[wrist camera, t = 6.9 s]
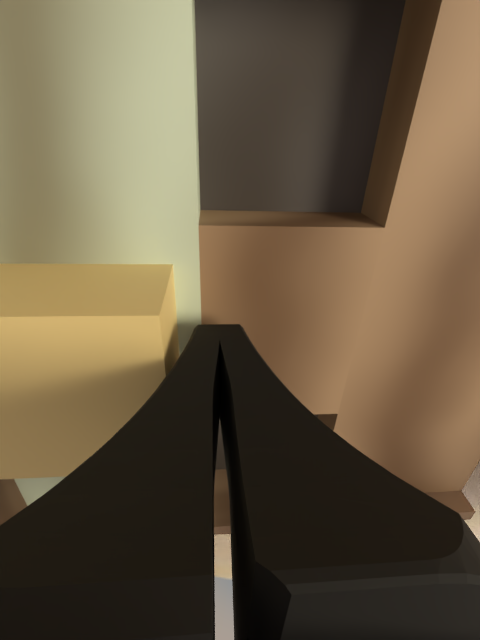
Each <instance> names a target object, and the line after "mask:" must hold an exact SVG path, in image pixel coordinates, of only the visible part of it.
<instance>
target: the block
mask: <svg viewBox="0 0 480 640" xmlns="http://www.w3.org/2000/svg"><path fill="white" fill-rule="evenodd" d="M179 357H180V354H179V340H178V327H177V313H176V299H175V286H174V272H173V264H0V479H22V478H45V477H66V476H68V475H69V474H70V473H71V472H72V471H74V470H75V469H76V468H77V467H78V466H80V465H81V464H82V463H83V462H84V461H86V460H87V459H88V458H89V457H90V456H92V455H93V454H94V453H95V452H96V451H97V450H99V449H100V448H101V447H102V446H103V445H104V444H105V443H106V442H107V441H108V440H110V439H111V438H112V437H113V436H114V435H115V434H116V433H117V432H118V431H119V430H120V429H121V428H122V427H123V426H124V425H125V424H126V423H127V422H128V421H129V420H130V419H131V418H132V417H133V416H134V415H135V413H136V412H137V411H138V410H139V409H140V408H141V407H142V406H143V405H144V404H145V402H146V401H147V400H148V399H149V398H150V396H151V395H152V394H153V393H154V392H155V390H156V389H157V388H158V386H159V385H160V384H161V382H162V381H163V380H164V378H165V377H166V376H167V374H168V373H169V372H170V370H171V369H172V367H173V366H174V364H175V363H176V361H177V360H178V358H179Z"/></svg>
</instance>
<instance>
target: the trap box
mask: <svg viewBox="0 0 480 640" xmlns="http://www.w3.org/2000/svg"><path fill="white" fill-rule="evenodd" d="M0 264H173V272H174V286H175V299H176V313H177V327H178V340H179V354H180V355H181V353H182V352H183V350H184V348H185V347H186V345H187V343H188V341H189V339H190V337H191V335H192V333H193V330H194V328H195V327H196V326H197V325H203V324H240V325H241V326H242V327H243V328H244V330H245V332H246V334H247V336H248V337H249V339H250V341H251V342H252V344H253V345H254V347H255V348H256V350H257V351H258V353H259V354H260V355H261V357H262V358H263V359H264V361H265V362H266V363H267V365H268V366H269V367H270V369H271V370H272V371H273V372H274V373H275V375H276V376H277V377H278V378H279V379H280V381H281V382H282V383H283V384H284V385H285V386H286V387H287V388H288V390H289V391H290V392H291V393H292V394H293V395H294V396H295V397H296V398H297V399H298V400H299V401H300V402H301V403H302V404H303V405H304V406H305V407H306V408H307V409H308V410H309V411H311V412H312V413H313V414H314V415H315V416H316V417H317V418H318V419H319V420H321V421H322V422H323V423H324V424H325V425H326V426H328V427H329V428H330V429H331V430H333V431H334V432H335V433H337V434H338V435H339V436H340V437H342V438H343V439H344V440H346V441H347V442H348V443H349V444H351V445H352V446H353V447H355V448H356V449H357V450H359V451H360V452H362V453H363V454H364V455H366V456H367V457H369V458H370V459H372V460H373V461H375V462H376V463H378V464H379V465H380V466H382V467H383V468H385V469H386V470H388V471H389V472H391V473H392V474H394V475H395V476H397V477H399V478H400V479H402V480H403V481H405V482H407V483H409V484H410V485H412V486H414V487H415V488H417V489H419V490H420V491H422V492H424V493H425V494H427V495H429V496H430V497H432V498H434V499H435V500H437V501H439V502H441V503H442V504H444V505H446V506H447V507H449V508H451V509H452V510H454V511H456V512H457V513H459V514H460V516H461V517H462V518H463V520H466V519H471V517H472V516H473V514H474V513H475V511H474V509H473V508H472V506H471V505H470V503H469V502H468V500H467V499H466V497H465V496H464V494H463V493H462V491H461V490H462V489H463V487H464V485H465V484H466V482H467V480H468V479H469V477H470V475H471V474H472V472H473V471H474V469H475V467H476V466H477V464H478V462H479V461H480V0H0ZM64 478H65V477H45V478H22V479H0V525H2V524H3V523H4V522H6V521H7V520H9V519H10V518H11V517H13V516H14V515H16V514H17V513H18V512H20V511H21V510H23V509H24V508H26V507H27V506H28V505H30V504H31V503H33V502H34V501H35V500H37V499H38V498H40V497H41V496H42V495H44V494H45V493H46V492H48V491H49V490H50V489H51V488H53V487H54V486H55V485H57V484H58V483H59V482H60V481H62V480H63V479H64ZM214 534H231V528H230V502H229V489H228V480H227V472H226V464H225V456H224V448H223V440H222V433H221V425H220V420H219V432H218V445H217V458H216V470H215V483H214Z"/></svg>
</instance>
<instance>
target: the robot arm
mask: <svg viewBox="0 0 480 640" xmlns="http://www.w3.org/2000/svg"><path fill="white" fill-rule="evenodd" d="M219 420H220V425H221V433H222V440H223V448H224V456H225V464H226V472H227V480H228V489H229V502H230V528H231V554H232V581H233V610H234V640H480V542H479V541H478V539H477V538H476V537H475V535H474V534H473V532H472V531H471V530H470V528H469V527H468V525H467V524H466V523H465V521H464V520H463V518H462V517H461V516H460V514H459V513H457V512H456V511H454V510H452V509H451V508H449V507H447V506H446V505H444V504H442V503H441V502H439V501H437V500H435V499H434V498H432V497H430V496H429V495H427V494H425V493H424V492H422V491H420V490H419V489H417V488H415V487H414V486H412V485H410V484H409V483H407V482H405V481H403V480H402V479H400V478H399V477H397V476H395V475H394V474H392V473H391V472H389V471H388V470H386V469H385V468H383V467H382V466H380V465H379V464H378V463H376V462H375V461H373V460H372V459H370V458H369V457H367V456H366V455H364V454H363V453H362V452H360V451H359V450H357V449H356V448H355V447H353V446H352V445H351V444H349V443H348V442H347V441H346V440H344V439H343V438H342V437H340V436H339V435H338V434H337V433H335V432H334V431H333V430H331V429H330V428H329V427H328V426H326V425H325V424H324V423H323V422H322V421H321V420H319V419H318V418H317V417H316V416H315V415H314V414H313V413H312V412H311V411H309V410H308V409H307V408H306V407H305V406H304V405H303V404H302V403H301V402H300V401H299V400H298V399H297V398H296V397H295V396H294V395H293V394H292V393H291V392H290V391H289V390H288V388H287V387H286V386H285V385H284V384H283V383H282V382H281V381H280V379H279V378H278V377H277V376H276V375H275V373H274V372H273V371H272V370H271V369H270V367H269V366H268V365H267V363H266V362H265V361H264V359H263V358H262V357H261V355H260V354H259V353H258V351H257V350H256V348H255V347H254V345H253V344H252V342H251V341H250V339H249V337H248V336H247V334H246V332H245V330H244V328H243V327H242V326H241V325H240V324H203V325H197V326H196V327H195V328H194V330H193V333H192V335H191V337H190V339H189V341H188V343H187V345H186V347H185V348H184V350H183V352H182V353H181V355H180V357H179V358H178V360H177V361H176V363H175V364H174V366H173V367H172V369H171V370H170V372H169V373H168V374H167V376H166V377H165V378H164V380H163V381H162V382H161V384H160V385H159V386H158V388H157V389H156V390H155V392H154V393H153V394H152V395H151V396H150V398H149V399H148V400H147V401H146V402H145V404H144V405H143V406H142V407H141V408H140V409H139V410H138V411H137V412H136V413H135V415H134V416H133V417H132V418H131V419H130V420H129V421H128V422H127V423H126V424H125V425H124V426H123V427H122V428H121V429H120V430H119V431H118V432H117V433H116V434H115V435H114V436H113V437H112V438H111V439H110V440H108V441H107V442H106V443H105V444H104V445H103V446H102V447H101V448H100V449H99V450H97V451H96V452H95V453H94V454H93V455H92V456H90V457H89V458H88V459H87V460H86V461H84V462H83V463H82V464H81V465H80V466H78V467H77V468H76V469H75V470H74V471H72V472H71V473H70V474H69V475H68V476H66V477H65V478H64V479H63V480H62V481H60V482H59V483H58V484H57V485H55V486H54V487H53V488H51V489H50V490H49V491H48V492H46V493H45V494H44V495H42V496H41V497H40V498H38V499H37V500H35V501H34V502H33V503H31V504H30V505H28V506H27V507H26V508H24V509H23V510H21V511H20V512H18V513H17V514H16V515H14V516H13V517H11V518H10V519H9V520H7V521H6V522H4V523H3V524H2V525H0V640H215V611H214V609H215V603H214V483H215V470H216V458H217V445H218V432H219Z"/></svg>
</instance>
